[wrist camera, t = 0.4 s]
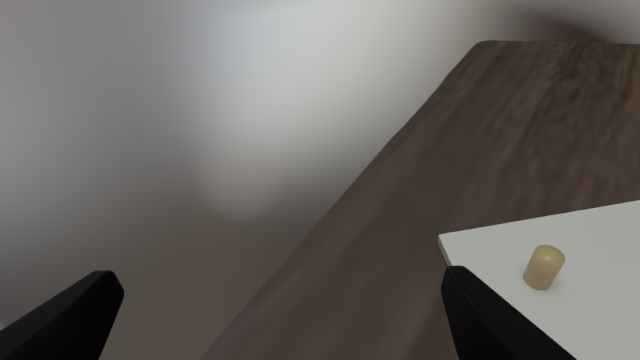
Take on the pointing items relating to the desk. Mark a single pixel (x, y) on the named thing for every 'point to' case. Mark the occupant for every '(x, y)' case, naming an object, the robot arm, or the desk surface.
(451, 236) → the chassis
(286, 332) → the desk surface
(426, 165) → the desk surface
